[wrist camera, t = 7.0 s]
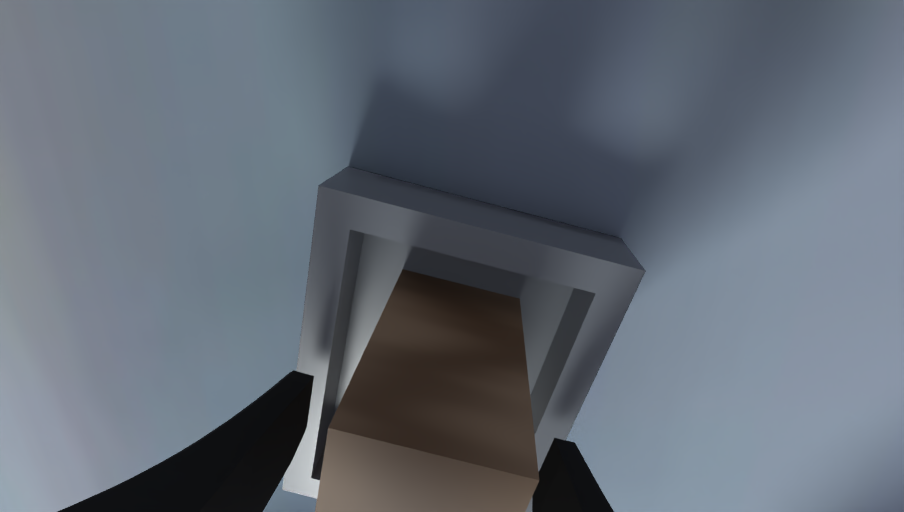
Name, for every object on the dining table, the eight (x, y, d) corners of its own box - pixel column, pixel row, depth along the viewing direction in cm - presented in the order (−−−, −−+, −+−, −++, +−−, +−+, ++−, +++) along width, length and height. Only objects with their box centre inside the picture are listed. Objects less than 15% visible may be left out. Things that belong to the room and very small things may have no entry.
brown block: (519, 298, 14) (539, 480, 8) (468, 449, 17) (452, 673, 11) (402, 269, 14) (328, 427, 8) (370, 424, 17) (295, 634, 11)
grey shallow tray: (620, 238, 14) (645, 270, 12) (511, 490, 19) (514, 548, 16) (347, 166, 14) (318, 185, 12) (308, 438, 19) (282, 490, 16)
